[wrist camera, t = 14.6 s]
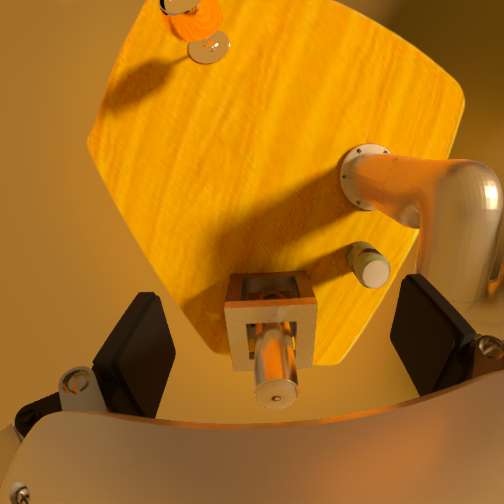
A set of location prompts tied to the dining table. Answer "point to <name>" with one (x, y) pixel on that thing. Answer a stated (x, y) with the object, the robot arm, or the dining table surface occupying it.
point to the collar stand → (270, 314)
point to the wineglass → (197, 27)
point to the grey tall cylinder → (274, 362)
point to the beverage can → (368, 265)
